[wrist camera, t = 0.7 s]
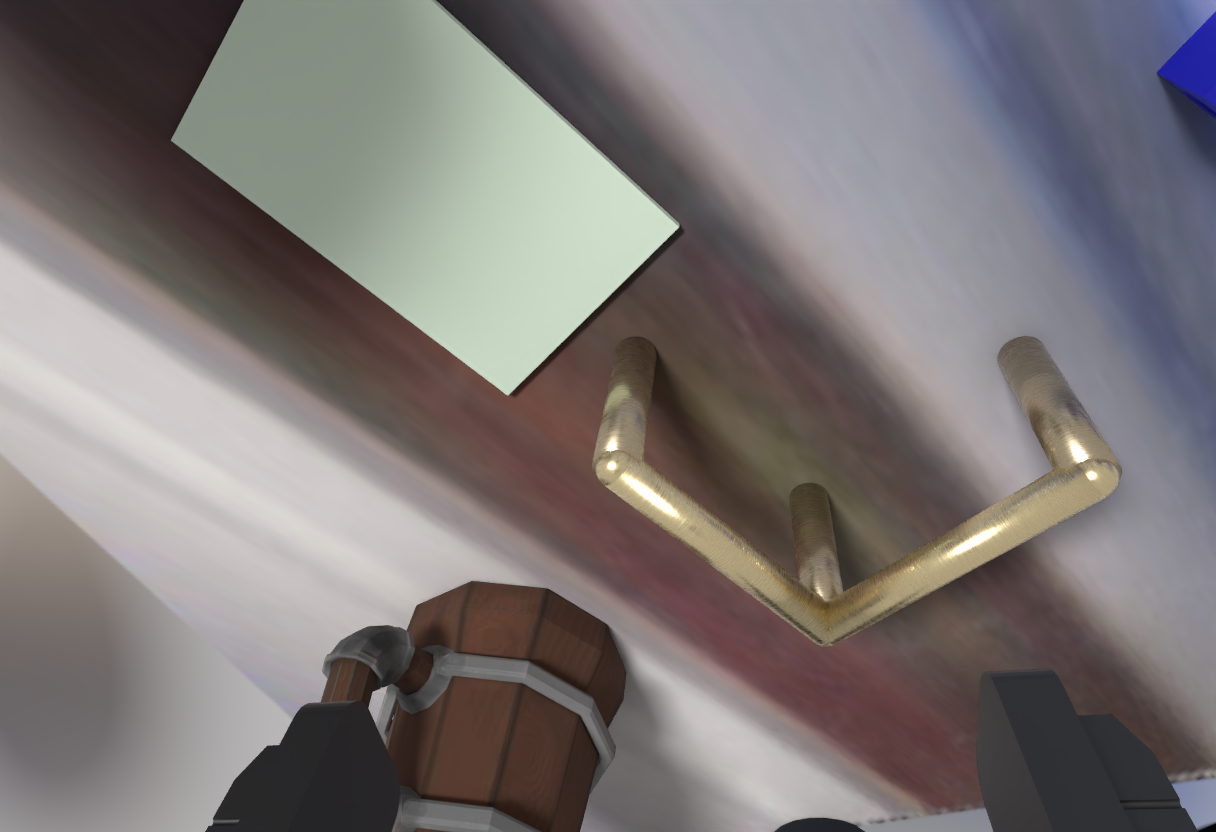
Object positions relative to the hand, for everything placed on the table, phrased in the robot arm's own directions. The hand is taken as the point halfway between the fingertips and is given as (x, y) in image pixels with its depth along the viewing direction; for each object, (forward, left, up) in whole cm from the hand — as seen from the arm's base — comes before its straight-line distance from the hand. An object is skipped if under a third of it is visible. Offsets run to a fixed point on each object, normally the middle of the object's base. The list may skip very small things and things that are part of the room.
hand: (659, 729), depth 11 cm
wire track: (+1, +8, -21) cm, 22 cm away
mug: (+24, +9, -21) cm, 33 cm away
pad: (+6, -7, -21) cm, 23 cm away
